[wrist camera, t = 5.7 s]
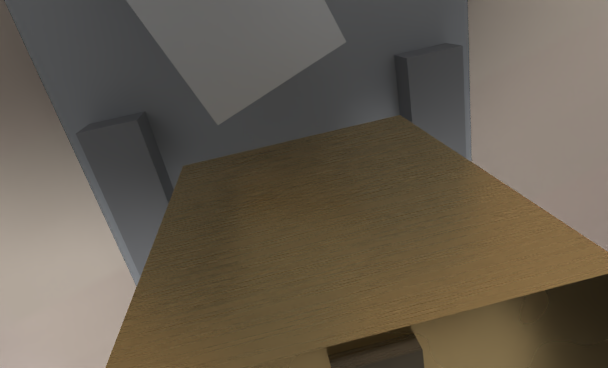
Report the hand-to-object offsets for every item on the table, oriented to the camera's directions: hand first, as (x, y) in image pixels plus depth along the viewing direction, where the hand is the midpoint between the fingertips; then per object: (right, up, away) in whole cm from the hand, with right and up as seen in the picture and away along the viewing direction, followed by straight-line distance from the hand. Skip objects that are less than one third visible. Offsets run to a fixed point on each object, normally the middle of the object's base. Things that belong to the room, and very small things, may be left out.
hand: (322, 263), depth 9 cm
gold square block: (0, +1, +1) cm, 1 cm away
